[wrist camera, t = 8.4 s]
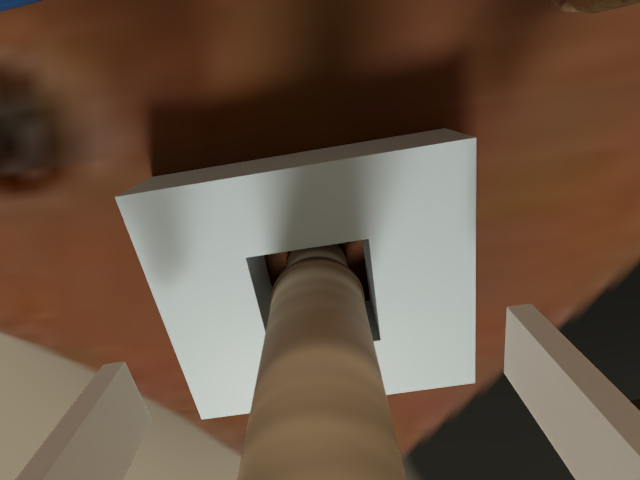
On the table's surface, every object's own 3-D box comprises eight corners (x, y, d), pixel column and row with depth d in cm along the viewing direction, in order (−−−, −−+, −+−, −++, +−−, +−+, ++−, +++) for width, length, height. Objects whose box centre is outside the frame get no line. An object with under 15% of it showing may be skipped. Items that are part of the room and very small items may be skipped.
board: (151, 176, 17) (114, 196, 14) (444, 128, 17) (476, 137, 14) (218, 370, 22) (201, 419, 19) (450, 338, 21) (475, 382, 18)
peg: (270, 236, 19) (148, 662, 5) (350, 223, 18) (462, 629, 5) (286, 304, 20) (228, 771, 6) (360, 293, 20) (463, 749, 6)
